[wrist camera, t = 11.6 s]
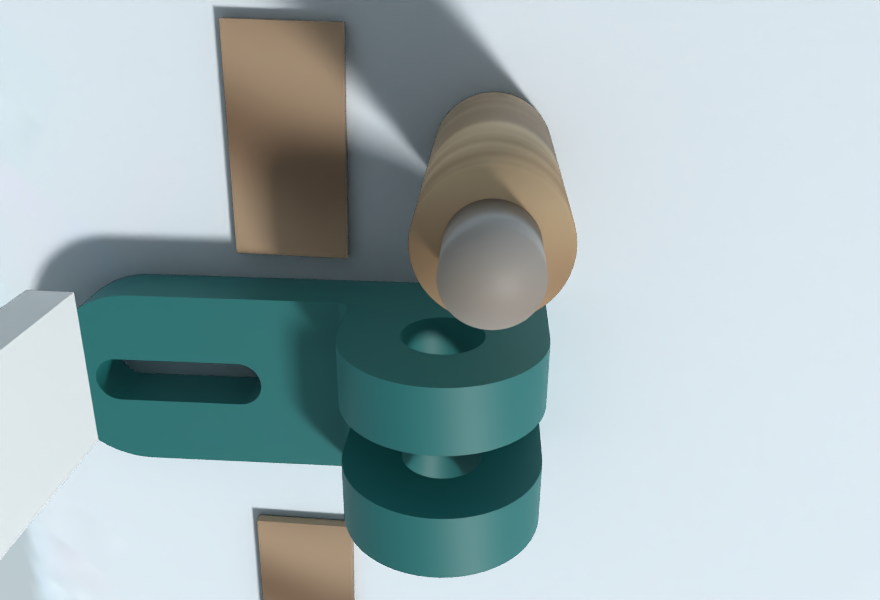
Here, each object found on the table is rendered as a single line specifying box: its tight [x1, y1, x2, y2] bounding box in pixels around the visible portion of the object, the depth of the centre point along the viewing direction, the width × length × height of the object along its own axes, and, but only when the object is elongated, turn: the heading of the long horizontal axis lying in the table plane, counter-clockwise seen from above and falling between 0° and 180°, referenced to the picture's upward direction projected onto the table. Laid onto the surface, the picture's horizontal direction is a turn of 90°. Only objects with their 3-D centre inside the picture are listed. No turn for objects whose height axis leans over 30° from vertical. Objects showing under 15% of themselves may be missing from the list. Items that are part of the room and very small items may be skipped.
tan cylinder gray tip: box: [408, 92, 577, 330], centre depth 22 cm, size 4×4×11 cm
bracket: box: [77, 274, 550, 578], centre depth 28 cm, size 18×7×8 cm, turn 90°
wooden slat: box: [219, 17, 354, 600], centre depth 31 cm, size 28×4×1 cm, turn 178°
